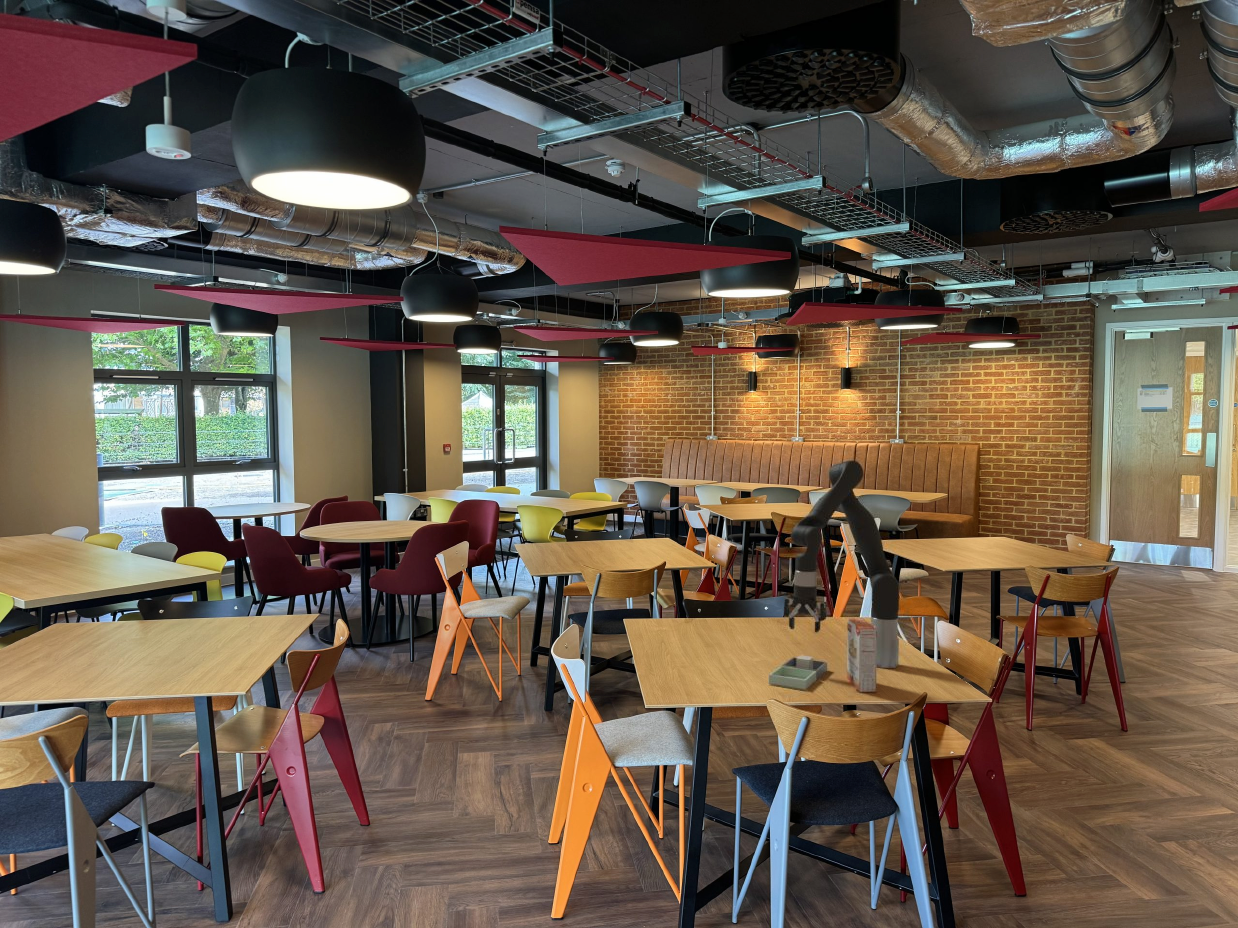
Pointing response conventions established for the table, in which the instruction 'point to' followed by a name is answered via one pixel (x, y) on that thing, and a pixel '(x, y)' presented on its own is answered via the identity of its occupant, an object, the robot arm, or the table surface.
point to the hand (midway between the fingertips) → (804, 630)
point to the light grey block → (804, 662)
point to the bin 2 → (817, 666)
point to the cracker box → (861, 654)
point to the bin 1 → (792, 678)
